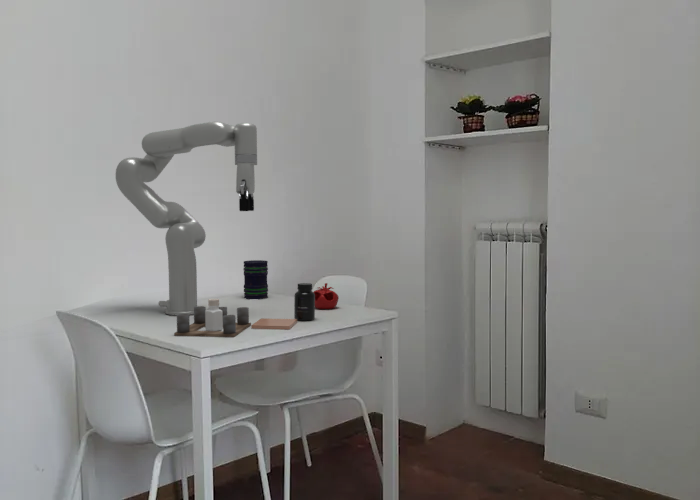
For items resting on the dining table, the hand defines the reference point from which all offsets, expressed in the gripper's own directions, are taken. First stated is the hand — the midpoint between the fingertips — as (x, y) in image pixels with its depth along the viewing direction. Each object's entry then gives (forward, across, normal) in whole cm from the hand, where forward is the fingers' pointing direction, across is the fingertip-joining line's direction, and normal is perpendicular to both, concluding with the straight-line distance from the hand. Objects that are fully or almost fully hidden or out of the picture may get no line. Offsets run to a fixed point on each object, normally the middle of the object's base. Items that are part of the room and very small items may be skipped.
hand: (246, 210), depth 220 cm
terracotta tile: (+36, +19, +12) cm, 42 cm away
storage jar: (+36, -40, -4) cm, 54 cm away
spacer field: (+36, +27, -6) cm, 45 cm away
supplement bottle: (+36, +9, +20) cm, 42 cm away
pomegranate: (+36, -15, +26) cm, 47 cm away
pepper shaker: (+36, +27, -6) cm, 45 cm away
